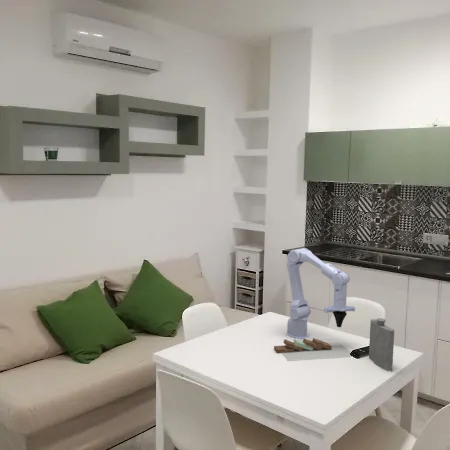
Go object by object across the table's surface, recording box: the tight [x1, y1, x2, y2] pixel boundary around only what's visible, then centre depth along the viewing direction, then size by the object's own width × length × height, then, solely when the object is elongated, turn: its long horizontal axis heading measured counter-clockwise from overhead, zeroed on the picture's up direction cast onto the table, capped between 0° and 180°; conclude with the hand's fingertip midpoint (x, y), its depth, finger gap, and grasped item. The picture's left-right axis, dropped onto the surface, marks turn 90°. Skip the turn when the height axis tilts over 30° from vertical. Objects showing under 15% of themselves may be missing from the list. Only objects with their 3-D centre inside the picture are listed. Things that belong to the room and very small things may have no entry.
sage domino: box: [293, 338, 313, 351], centre depth 236 cm, size 2×5×8 cm
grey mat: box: [281, 343, 353, 362], centre depth 233 cm, size 32×16×1 cm, turn 101°
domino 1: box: [273, 344, 294, 354], centre depth 234 cm, size 2×5×8 cm
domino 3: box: [302, 338, 323, 350], centre depth 236 cm, size 2×5×8 cm
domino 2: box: [283, 338, 303, 352], centre depth 235 cm, size 2×5×8 cm
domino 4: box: [311, 337, 332, 350], centre depth 237 cm, size 2×5×8 cm
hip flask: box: [368, 317, 395, 372], centre depth 220 cm, size 16×4×20 cm, turn 14°
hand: (338, 326), depth 238 cm, fingers closed
